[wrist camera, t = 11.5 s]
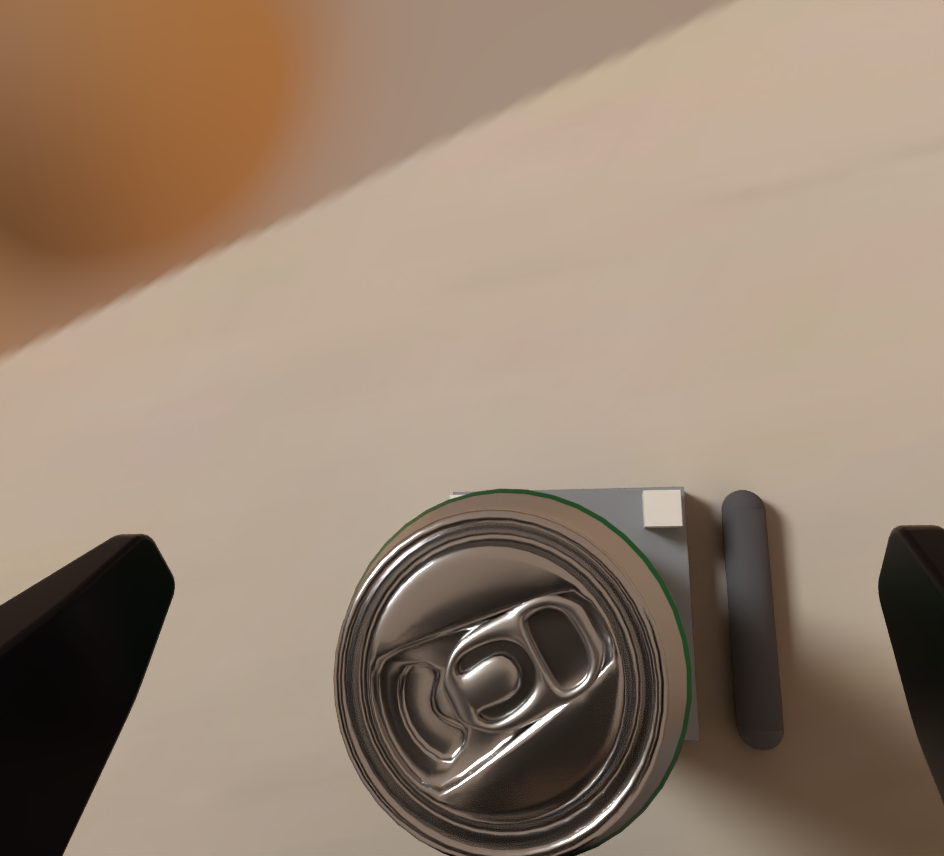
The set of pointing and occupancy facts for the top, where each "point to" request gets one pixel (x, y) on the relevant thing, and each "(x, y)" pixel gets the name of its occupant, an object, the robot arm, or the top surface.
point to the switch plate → (650, 545)
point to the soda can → (512, 677)
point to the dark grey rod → (752, 621)
